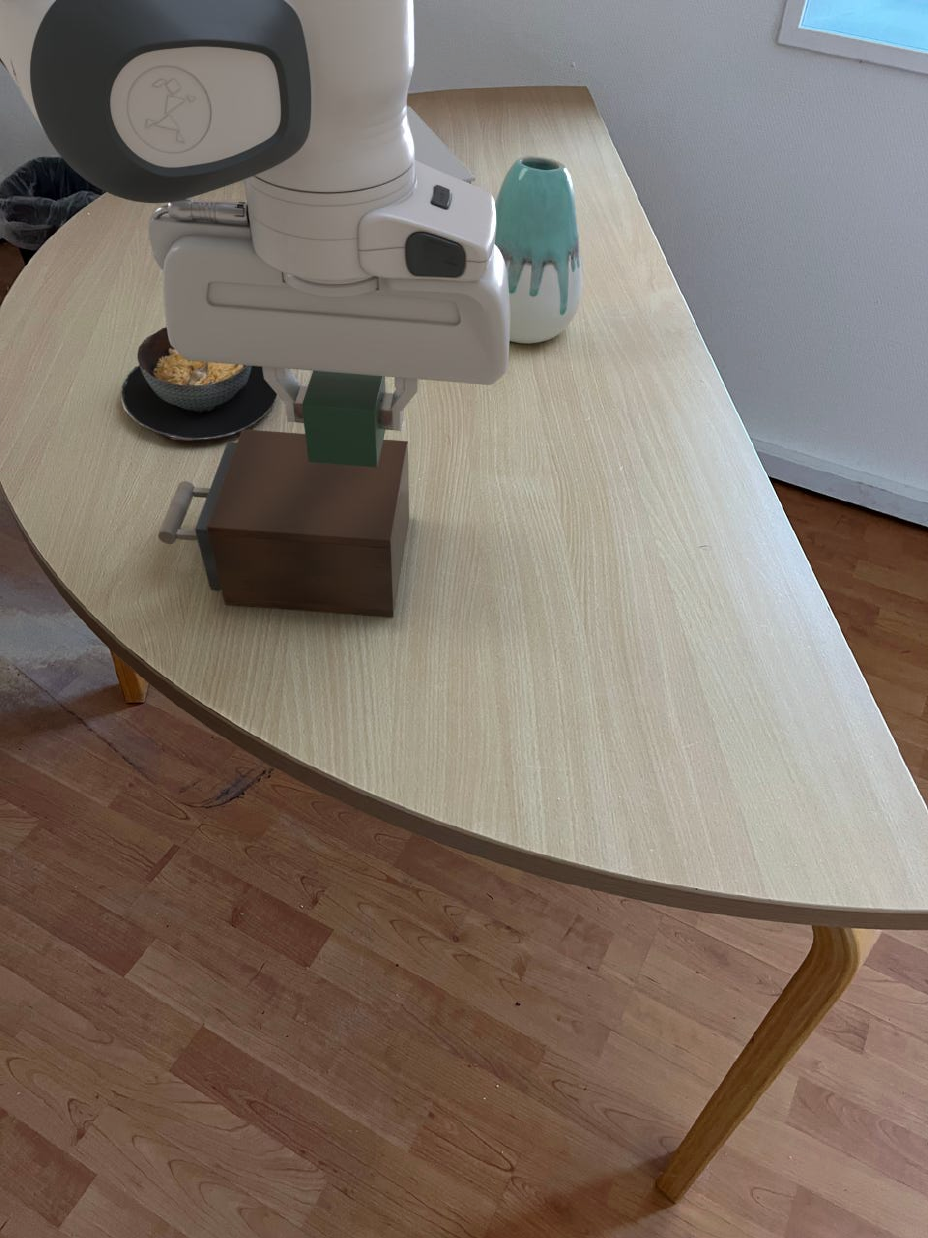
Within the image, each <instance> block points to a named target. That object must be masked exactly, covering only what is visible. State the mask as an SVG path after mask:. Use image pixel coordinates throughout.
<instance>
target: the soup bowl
mask: <svg viewBox="0 0 928 1238" xmlns="http://www.w3.org/2000/svg"><path fill="white" fill-rule="evenodd" d="M137 362H138V365H136V366H134V368H132V369H131V371H129V372H128V374H127V375H126V376H127V377H126V378H125V379H124V381H123V383H122V385H121V389H120V401H121V405H122V408H123V410H124V412H125V413H126V414H128V415H129V416H130V417H131V418H132V419H133V420H134V421H135V422H136V423H138V424H140V426H143V427H144V428H147V429H149V430H151V431H152V432H155V433H157V434H159V435H161V436H163V437H166V438H168V439H170V440H178V441H203V440H204V441H205V440H206V441H212V440H219V439H224V438H227V437H231V436H234V435H237V434H241V431H242V429H245V430H250V429H251V427H253V426H254V425H255V424H256V423H257V422H258V421H259V420H261V419H262V418H263V417H264V416H265V415H267V414H268V412H269V411H270V410H271V408H272V406H273V404H274V403H275V400H276V399H277V397H278V395H277V394H276V392H275V391H274V390H273V389H272V388H271V386H270V385H269V384H268V383H267V382H266V381H265V379H264V376H263V369H262V366H249V365H237V364H225V363H213V362H200V361H190V360H186V359H185V358H183V357H182V356H181V355H180V354H179V353H178V352H177V351H176V350H175V349H174V348H173V347H172V346H171V344H170V341H169V337H168V332H167V326H165V327H162V328H161V329H159V330H157V331H156V332H154V333H153V334H150V335H149V336H146V338H145V339H144V340H143V341H142V343H141V344H140V345H139V346H138V349H137Z"/></svg>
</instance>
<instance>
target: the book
mask: <svg viewBox="0 0 928 1238" xmlns="http://www.w3.org/2000/svg"><path fill="white" fill-rule="evenodd" d="M407 117H408V123H409V127H410V130H411V133H412V137H413V141H414V149H415V160H416V161H418V162H420V163H423V164H425V165H427V166H429V167H431V168H433V169H436V170H438V171H440V172H443V173H445V174H447V175H450V176H452V177H455V178H457V179H460V180H462V181H465V182H467V183H470V184H472V182H476V177H475V176H474V175H473V174H472V173H471V171H470V170H469V169H468V168H467V167H466V166H465V165H464V164H463V163H462V162H461V161H460V160H459V158H458V157H457V155H455V154H454V153H453V152H452V151H451V150H450V149H449V148H448V147H447V145H445V143H444V142H443V141H442V140H441V139H440V138H439V137H438V136H437V134H435V132H434V131H433V130H432V129H431V128H430V126H428V125H427V123H425V121H424V120H423V119H422V118H421V117H420V116H419V115H418V114H417V112H416V111H414V109H412V107H411V106H410V105H407Z"/></svg>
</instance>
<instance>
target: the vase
mask: <svg viewBox="0 0 928 1238" xmlns="http://www.w3.org/2000/svg"><path fill="white" fill-rule="evenodd" d="M495 199H496V200H495V202H494V203H495V209H496V236H495V243H494V244H495V245H496V247H497V248H498V249H499V251H500V252H501V254H502V256H503V259H504V262H505V265H506V270H507V277H508V286H509V299H510V340H509V342H512V343H517V344H539V343H542V342H545V341H549V340H551V339H553V338H556V337H557V336H558V335H560V334H561V333H562V332H563V331H564V330H566V329H567V328H568V326H569V325H570V324H571V323H572V321H574V320H573V319H574V318H575V317H576V315H577V312H578V310H579V307H580V304H581V300H582V297H583V296H582V295H583V287H584V286H583V282H584V281H583V280H584V276H583V274H584V273H583V272H584V271H583V259H582V252H581V248H580V236H579V235H580V234H579V229H578V222H577V208H576V197H575V190H574V183H573V180H572V177H571V174H570V172H569V170H568V168H567V167H566V166H565V164H564V163H562V162H561V161H558V160H556V159H552V158H550V157H549V158H548V157H544V156H536V155H526V156H522V157H519V158H518V159H516V160H515V161H514V163H513V164H512V165H511V166H510V168H509V169H508V171H507V172H506V175H505V176H504V178H503V180H502V183H501V185H500V188H499V190H498V193H497V196H496V198H495Z"/></svg>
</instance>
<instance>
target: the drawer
mask: <svg viewBox="0 0 928 1238" xmlns="http://www.w3.org/2000/svg"><path fill="white" fill-rule="evenodd" d="M237 442H238V441H227V442H226V445H225V447H224V451H223V453H222V455H221V458H220V461H219V464H218V466H217V469H216V472H215V473H214V477H213V480H212V482H211V485H210V488H209V487H196V486H195V485H194V484H193V483H191V482H190V481H187V480H184V481H183V480H182V481H180V482H179V483H178V485H177V488H176V490H175V492H174V494H173V498H172V499H171V501H170V505H169V507H168V510H167V513H166V514H165V517H164V519H163V522H162V524H161V525H160V529H159V531H158V534H157V538H158V540H160V542H162V543H164V544H166V545H167V544H168V545H172V544H175V543H176V541H177V540H181V541H182V540H184V541H194V542H195V541H197V544H198V547H199V552H200V554H201V555H200V556H201V558H202V564H203V567H204V571H205V575H206V579H207V583H208V586H209V590H210V591H214V592H215V591H216V592H217V591H218V592H222V589H221V585H220V581H219V577H218V573H217V569H216V565H215V561H214V556H213V552H212V548H211V544H210V540H209V536H208V531H207V525H208V522H209V519H210V516H211V514H212V511H213V508H214V505H215V503H216V500H217V497H218V494H219V492H220V489H221V486H222V483H223V481H224V478H225V475H226V472H227V470H228V467H229V464H230V462H231V459H232V456H233V453H234V451H235V448H236V445H237ZM193 498H205V501H204V503H203V506H202V509H201V512H200V514H199V517H198V520H197V522H196V525H195V528H194V529H183V528H182V525H183V524H184V521H185V518H186V516H187V513H188V510H189V507H190V505H191V503H192V500H193Z"/></svg>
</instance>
